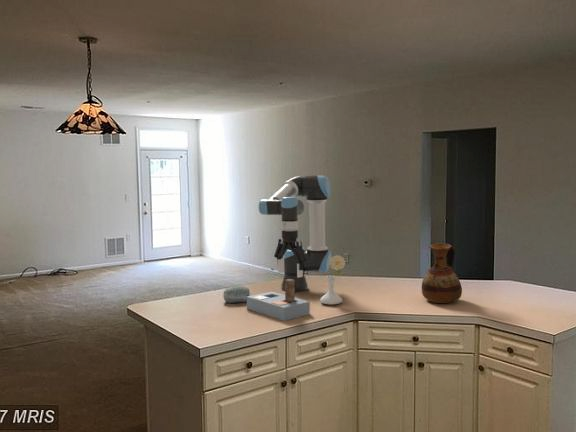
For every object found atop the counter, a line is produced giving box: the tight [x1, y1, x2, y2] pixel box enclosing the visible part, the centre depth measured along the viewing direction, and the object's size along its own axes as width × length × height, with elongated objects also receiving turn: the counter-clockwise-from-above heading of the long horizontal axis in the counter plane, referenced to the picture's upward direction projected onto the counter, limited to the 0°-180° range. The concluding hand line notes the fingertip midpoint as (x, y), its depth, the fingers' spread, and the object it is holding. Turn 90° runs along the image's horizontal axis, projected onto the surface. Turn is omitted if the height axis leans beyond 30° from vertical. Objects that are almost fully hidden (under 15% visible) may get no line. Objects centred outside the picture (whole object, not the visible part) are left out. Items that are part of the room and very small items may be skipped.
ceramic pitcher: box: [421, 242, 463, 304], centre depth 263 cm, size 20×20×30 cm
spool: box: [222, 285, 251, 304], centre depth 264 cm, size 14×10×10 cm
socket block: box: [246, 291, 311, 322], centre depth 246 cm, size 28×16×6 cm, turn 41°
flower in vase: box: [319, 254, 346, 305], centre depth 259 cm, size 13×11×25 cm
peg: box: [284, 279, 296, 303], centre depth 242 cm, size 4×4×16 cm
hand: (290, 274), depth 241 cm, fingers open, 13 cm apart
